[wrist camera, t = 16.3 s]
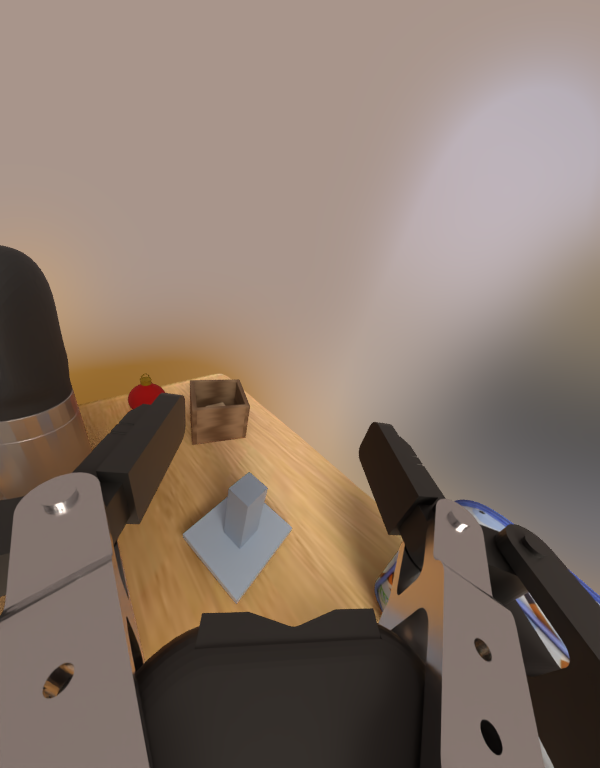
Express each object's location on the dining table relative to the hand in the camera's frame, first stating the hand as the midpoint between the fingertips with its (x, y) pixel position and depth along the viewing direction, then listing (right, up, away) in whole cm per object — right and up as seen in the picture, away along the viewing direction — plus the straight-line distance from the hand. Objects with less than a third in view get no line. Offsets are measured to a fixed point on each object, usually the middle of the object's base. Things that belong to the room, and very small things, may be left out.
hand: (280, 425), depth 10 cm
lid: (-8, -22, +24) cm, 34 cm away
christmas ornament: (-34, -5, +43) cm, 55 cm away
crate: (-19, -8, +44) cm, 48 cm away
